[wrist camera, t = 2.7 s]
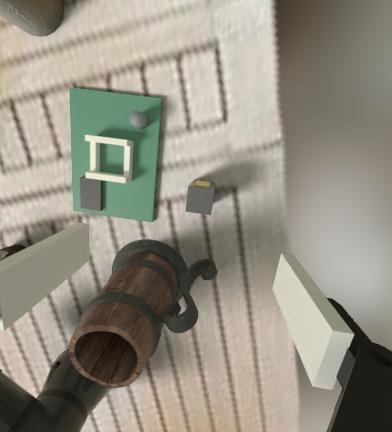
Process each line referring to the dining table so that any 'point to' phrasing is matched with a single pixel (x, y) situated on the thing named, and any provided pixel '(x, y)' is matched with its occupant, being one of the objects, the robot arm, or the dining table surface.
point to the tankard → (135, 312)
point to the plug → (200, 197)
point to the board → (114, 153)
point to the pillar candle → (33, 15)
